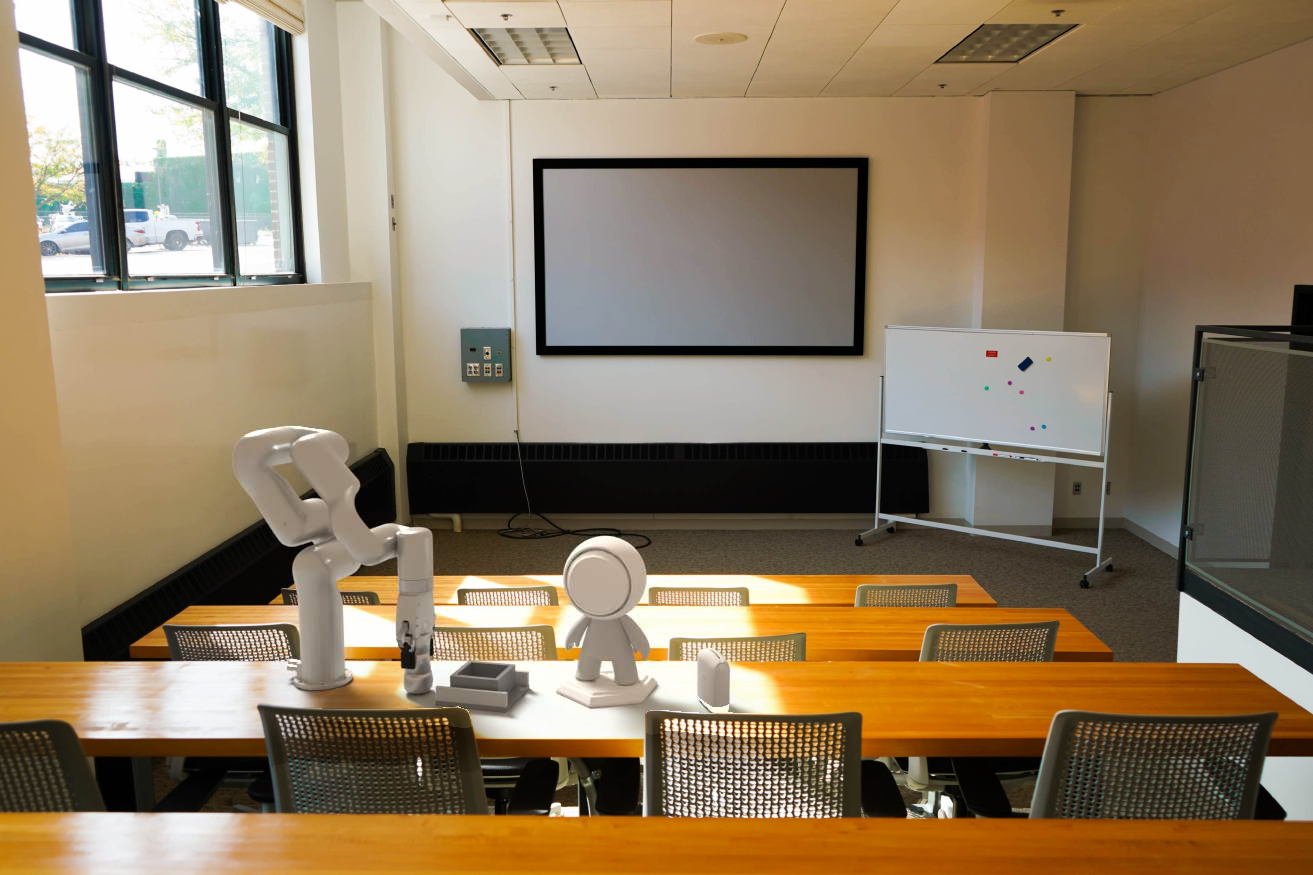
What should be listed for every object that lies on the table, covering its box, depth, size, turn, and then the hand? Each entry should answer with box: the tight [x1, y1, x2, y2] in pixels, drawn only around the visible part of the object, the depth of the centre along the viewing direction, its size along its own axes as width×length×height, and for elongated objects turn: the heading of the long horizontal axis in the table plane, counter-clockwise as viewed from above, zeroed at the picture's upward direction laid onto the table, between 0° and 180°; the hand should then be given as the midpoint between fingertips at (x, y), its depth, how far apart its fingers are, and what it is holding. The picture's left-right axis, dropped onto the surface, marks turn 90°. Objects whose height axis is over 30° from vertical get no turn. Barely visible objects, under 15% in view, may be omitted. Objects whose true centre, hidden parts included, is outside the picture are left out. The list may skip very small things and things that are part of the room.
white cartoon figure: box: [555, 535, 658, 709], centre depth 215 cm, size 20×23×35 cm
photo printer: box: [696, 647, 731, 707], centre depth 207 cm, size 10×4×12 cm, turn 20°
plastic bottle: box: [402, 620, 434, 695], centre depth 214 cm, size 6×7×20 cm
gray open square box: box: [435, 659, 530, 713], centre depth 212 cm, size 16×14×6 cm
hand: (417, 661), depth 214 cm, fingers open, 8 cm apart
